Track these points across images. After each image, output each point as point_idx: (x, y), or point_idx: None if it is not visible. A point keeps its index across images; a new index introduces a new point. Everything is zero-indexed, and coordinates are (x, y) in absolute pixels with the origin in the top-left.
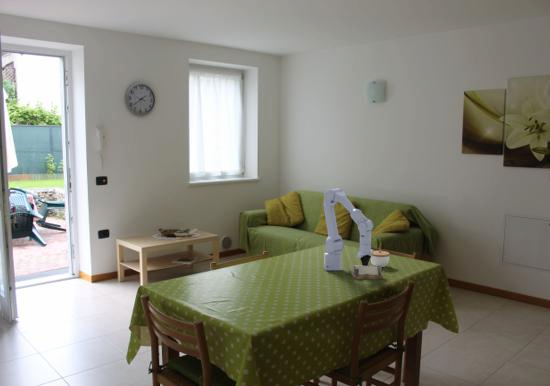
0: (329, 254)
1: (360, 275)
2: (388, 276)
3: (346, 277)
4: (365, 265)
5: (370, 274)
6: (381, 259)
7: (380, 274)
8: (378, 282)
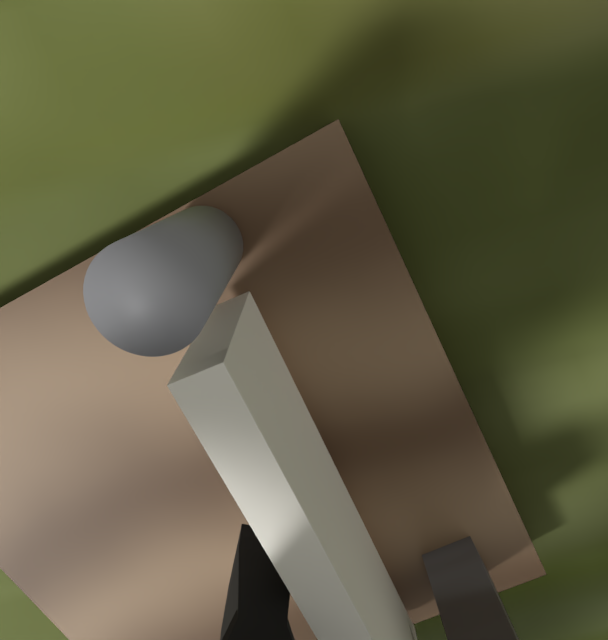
0: None
1: (426, 519)
2: (78, 68)
3: None
4: (317, 629)
5: None
6: None
7: None
8: (599, 156)
